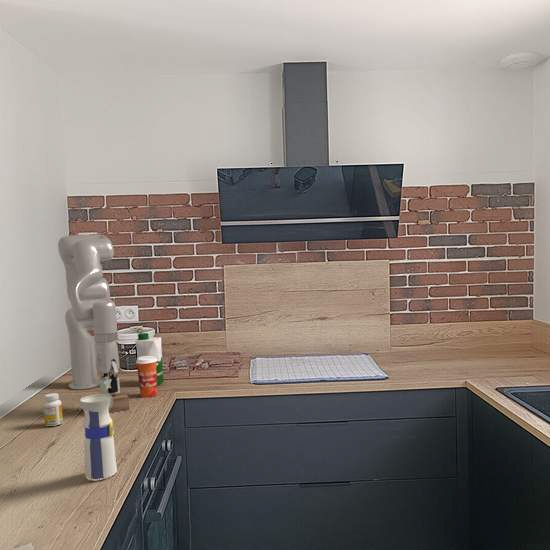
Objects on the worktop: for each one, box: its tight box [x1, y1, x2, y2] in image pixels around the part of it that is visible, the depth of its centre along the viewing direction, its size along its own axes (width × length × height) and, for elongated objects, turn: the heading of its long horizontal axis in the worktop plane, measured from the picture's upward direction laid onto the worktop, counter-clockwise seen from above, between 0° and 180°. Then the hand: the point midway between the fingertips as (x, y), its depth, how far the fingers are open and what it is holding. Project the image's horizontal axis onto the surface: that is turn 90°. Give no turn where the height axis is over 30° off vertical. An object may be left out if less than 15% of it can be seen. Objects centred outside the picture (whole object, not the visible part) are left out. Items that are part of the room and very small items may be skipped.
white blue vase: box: [78, 377, 118, 479], centre depth 152 cm, size 8×8×25 cm
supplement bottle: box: [43, 392, 64, 426], centre depth 195 cm, size 5×5×10 cm
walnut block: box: [109, 389, 130, 414], centre depth 210 cm, size 10×10×5 cm
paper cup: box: [135, 356, 158, 398], centre depth 225 cm, size 8×8×14 cm
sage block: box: [98, 376, 121, 395], centre depth 209 cm, size 5×5×5 cm
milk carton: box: [134, 332, 164, 386], centre depth 242 cm, size 9×9×20 cm
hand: (110, 390), depth 209 cm, fingers closed on sage block, 5 cm apart
